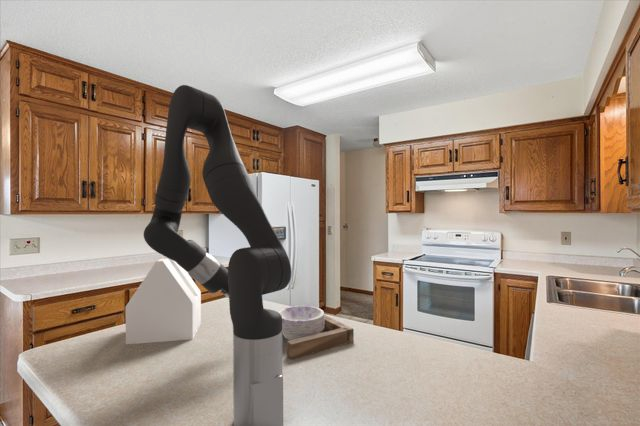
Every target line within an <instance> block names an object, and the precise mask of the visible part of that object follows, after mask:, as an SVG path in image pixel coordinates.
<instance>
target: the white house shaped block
mask: <svg viewBox="0 0 640 426" xmlns="http://www.w3.org/2000/svg"><path fill="white" fill-rule="evenodd" d="M201 324H202V292H201V290H200V288H199V287H198V286H197V284H196V282H195V280H193V278H192V277H191V275H190V274H189V273H188V272H187V271H185V270H184V269H183V268H182V267H181V266H180V265H178V264H177V263H176V262H175V261H173V260H171V259H169V258H167V257H165V256H164V257H163V258H160V259H158V260H156V261H155V262H154V263H153V265H152V267H151V268H150V270H149V271H148V273H146V276H145V277H144V279H143V280H142V281H141V283H140V284H139V286H138V288H137V290H135V292H134V293H133V294H132V296H131V298H130V299H129V301H128V303H127V304H126V305H125V345H134V344H145V343H147V344H149V343H162V342H177V341H187V340H188V341H189V340H193V339H194V338H195V337H196V334H197V331H198V330H199V328H200V327H201Z"/></svg>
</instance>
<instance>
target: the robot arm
mask: <svg viewBox="0 0 640 426" xmlns="http://www.w3.org/2000/svg"><path fill="white" fill-rule="evenodd" d="M187 129H190V130H193V131H196V132H200V133H201V134H203V135H204V137H205V139H206V142H207V144H208V147H209V151H208V153H207V156H206V157H205V160H204V162H203V167H202V171H201V172H202V179H203V182H204V185H205V187H206V190H207V191H206V192H208V196H209V199H210V200H211V202H212V204H213V206H215V208H217V210H218V211H219V212H220V213H221V214H222V215H224V217H225V218H227V219H228V220H229V221H230V222H231V223H232V224H233V225H234V226H236V228H238V229H239V230H240V232H241V233H242V234H243V236H244V238H245V239H246V240H247V243H248V245H249V246H248V247H241V248H238V249H237V250H235V251H233V253H232V254H231V256H230V258H229V261H228V266H227V267H226V266H224V265H223V264H222V263H221V262H220V261H219V260H218V259H217V258H215V257H214V256H213V255H212V254H210V253H209V252H207V251H206V250H205V249H204V248H203V247H201V245H199V244H198V243H197V242H196V241H194V240H192V239H186V238H184V237H183V236H182V235H180V233H178V232H179V228H180V225H181V219H182V216H183V215H182V213H183V209H184V207H185V204H186V201H187V199H188V194H189V190H190V187H191V182H192V176H191V171H190V167H189V163H188V160H187V156H186V152H185V136H186V132H187ZM241 158H242V157H241V155H240V153H239V150H238V148H237V145H236V143H235V141H234V138H233V135H232V132H231V129H230V126H229V122H228V118H227V115H226V111H225V108H224V105H223V104H222V102H221V100H220V99H219V98H217V97H216V96H215V95H212V94H210V93H208V92H205V91H203V90H201V89H198V88H197V87H196V88H195V87H193V86H190V85H187V84H182V85H181V84H180V85H179V86H178V87H177V88H175V90H174V91H173V93H172V95H171V98H170V101H169V105H168V111H167V120H166V129H165V139H164V151H163V161H162V168H161V172H160V176H159V180H158V184H157V187H156V191H155V195H154V210H153V212H152V216H151V219H150V221H149V223H147V226H146V227H145V228H144V231H143V239H144V241H145V243H146V244H147V245H148V246H149V247H150V248H151V249H152V250H153V251H154V252H156V253H158V254H160V255H162V256H164V258H165V257H167V258H169V259H171V260H173V261H175V262H176V263H177V264H178V265H180V266H181V267H182V268H183V269H184V270H185V271H187V273H188V274H189V275H190V277H191V278H192V280H193V279H194V281H196V282H197V283H198V284H199V285H201V286H202V287H203V288H204V289H205V290H207V291H208V292H209V293H210V294H215V293H218V292H220V293H221V294H222V295H223V296H225V297H226V298H228V301H229V303H228V305H229V315H230V319H231V323H232V333H233V334H232V335H233V337H232V338H233V339H232V342H233V346H232V347H233V349H232V352H233V353H232V354H233V355H232V356H233V357H232V359H233V360H232V361H233V362H232V363H233V366H232V367H233V368H232V370H233V371H232V372H233V374H232V377H233V378H232V379H233V381H232V384H233V386H232V387H233V393H232V394H233V398H232V399H233V401H232V402H233V410H232V411H233V426H284V377H283V334H282V316H281V315H280V313H278V312H279V311H276V310H274V309H273V310H272V309H268V308H264V303H263V301H264V300H263V295H267V294H271V293H275V292H279V291H282V290H284V289H286V288H287V287H288V286H289V284H290V282H291V278H292V266H291V261H290V257H289V256H288V253H287V252H286V250H285V248H284V246H283V243H282V242H281V240H280V238H279V236H278V235H277V233H276V232H275V229H274V228H273V226H272V225H271V222H270V221H269V218H268V217H267V215H266V213H265V211H264V208H263V206H262V204H261V202H260V200H259V198H258V195H257V192H256V191H255V189H254V186H253V184H252V181H251V177H250V176H249V173H248V171H247V169H246V166H245V164H244V162H243V160H242V159H241Z"/></svg>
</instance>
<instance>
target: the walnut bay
mask: <svg viewBox="0 0 640 426" xmlns="http://www.w3.org/2000/svg"><path fill="white" fill-rule="evenodd" d="M324 319H325V320H324V322H325V323H324V324H325V325H324V326H325V327H324V329H323V330H322V332H319V333H318V334H315V335H311V336H307V337H303V338H298V339H294V340H286V356H287V357H288V358H289V359H290V360H292V359H296V358H300V357H304V356H308V355H311V354H314V353H318V352H323V351H325V350H328V349H329V350H330V349H333V348H337V347H340V346H343V345H347V344H351V343H354V342H355V341H354V335H355V333H354V331H355V330H354V328H352V327H351V326H349V325H346V324H344V323H342V322H340V321H337V320H336V319H333V318H331V317H329V316H327V315H326V314H324Z"/></svg>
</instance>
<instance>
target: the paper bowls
mask: <svg viewBox="0 0 640 426" xmlns="http://www.w3.org/2000/svg"><path fill="white" fill-rule="evenodd" d="M277 312H278V313H280V315H281V316H282V335H283V337H284V338H285V339H286V340H287V341H290V340H294V339H298V338H303V337H307V336H311V335H315V334H319V333H322V332H323V329H324V327H325V326H324V325H325V324H324V323H325V322H324V320H325V319H324V315H325V312H324V310H323V309H321V308H320V307H315V306H311V305H294V306H289V307H285V308H282V309H280V310H279V311H277Z"/></svg>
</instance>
